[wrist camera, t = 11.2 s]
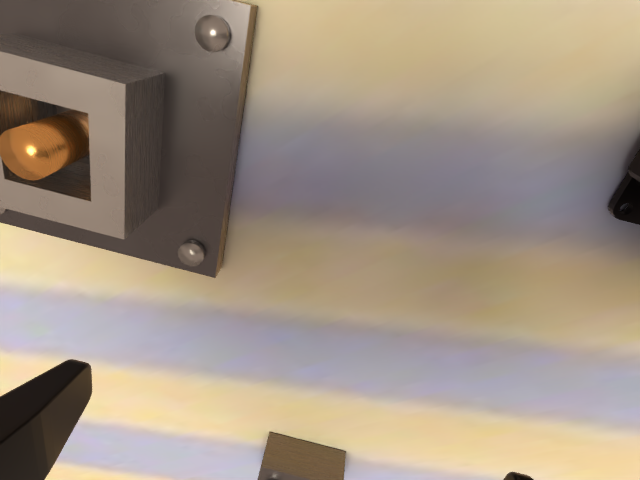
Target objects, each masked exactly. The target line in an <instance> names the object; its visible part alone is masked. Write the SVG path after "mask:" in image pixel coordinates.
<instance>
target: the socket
mask: <svg viewBox="0 0 640 480" xmlns="http://www.w3.org/2000/svg"><path fill="white" fill-rule="evenodd" d="M164 83H165V73H164V72H160V71H156V70H152V69H148V68H145V67H141V66H137V65H133V64H129V63H126V62H122V61H118V60H114V59H110V58H107V57H103V56H99V55H95V54H91V53H88V52H84V51H80V50H76V49H73V48H69V47H65V46H61V45H57V44H54V43H50V42H46V41H42V40H38V39H35V38H31V37H27V36H23V35H19V34H16V33H13V34H0V136H1V135H2V133H3V132H5V131H7V130H9V129H12V128H15V127H18V126H22V125H25V124H28V123H31V122H34V121H37V120H40V119H43V118H47V117H50V116H53V107H52V104H54V105H58V106H62V107H66V108H70V109H74V110H77V111H81V112H85V113H88V120H89V149H90V165H89V164H85V163H81V162H77V161H76V162H74V163H72V164H70V165H68V166H66V167H64V168H62V169H60V170H58V171H56V172H54V173H52V174H50V175H48V176H46V177H44V178H42V179H39V180H27V179H24V178H21V177H19V176H18V175H16V174H15V173H13V172H12V171H11V170H10V169H9V168H8V167H7V166H6V165H5V163H4V162H3V160H2V158H1V156H0V207H2V208H5V209H9V210H13V211H17V212H21V213H25V214H28V215H32V216H36V217H40V218H44V219H48V220H51V221H55V222H59V223H63V224H67V225H71V226H74V227H78V228H82V229H86V230H90V231H94V232H97V233H101V234H105V235H109V236H113V237H116V238H120V239H125V238H126V237H128V236H129V235H130V234H131V233H132V232H133V231H134V230H135V229H136V228H138V227H139V226H140V225H141V224H142V223H143V222H144V221H145V220H146V219H148V218H149V217H150V216H151V215H152V214H153V213H154V212H155V211H156V210H158V203H159V183H160V163H161V143H162V123H163V103H164Z"/></svg>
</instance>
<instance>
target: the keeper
mask: <svg viewBox="0 0 640 480" xmlns="http://www.w3.org/2000/svg"><path fill="white" fill-rule="evenodd" d="M257 7H258V6H256V5H252V4H248V3H244V2H241V1H237V0H0V34H13V33H16V34H19V35H23V36H27V37H31V38H35V39H38V40H42V41H46V42H50V43H54V44H57V45H61V46H65V47H69V48H73V49H76V50H80V51H84V52H88V53H91V54H95V55H99V56H103V57H107V58H110V59H114V60H118V61H122V62H126V63H129V64H133V65H137V66H141V67H145V68H148V69H152V70H156V71H160V72H164V73H165V83H164V103H163V123H162V143H161V163H160V183H159V203H158V210H156V211H155V212H154V213H153V214H152V215H151V216H150V217H149V218H148V219H146V220H145V221H144V222H143V223H142V224H141V225H140V226H139V227H138V228H136V229H135V230H134V231H133V232H132V233H131V234H130V235H129V236H128V237H126V238H125V239H120V238H116V237H113V236H109V235H105V234H101V233H97V232H94V231H90V230H86V229H82V228H78V227H74V226H71V225H67V224H63V223H59V222H55V221H51V220H48V219H44V218H40V217H36V216H32V215H28V214H25V213H21V212H17V211H13V210H9V209H5V208H2V207H0V222H1V223H5V224H9V225H13V226H16V227H20V228H24V229H28V230H32V231H36V232H40V233H44V234H47V235H51V236H55V237H59V238H63V239H67V240H71V241H75V242H78V243H82V244H86V245H90V246H94V247H98V248H102V249H106V250H109V251H113V252H117V253H121V254H125V255H129V256H133V257H137V258H140V259H144V260H148V261H152V262H156V263H160V264H164V265H168V266H171V267H175V268H179V269H183V270H187V271H191V272H195V273H199V274H203V275H206V276H210V277H214V278H216V276H217V274H218V273H219V271H220V269H221V268H222V262H223V255H224V247H225V240H226V233H227V225H228V218H229V211H230V204H231V196H232V189H233V182H234V174H235V167H236V160H237V152H238V145H239V138H240V131H241V123H242V116H243V109H244V101H245V94H246V87H247V79H248V72H249V65H250V58H251V50H252V43H253V36H254V28H255V21H256V14H257ZM52 107H53V116H50V117H47V118H43V119H40V120H37V121H34V122H31V123H28V124H25V125H22V126H18V127H15V128H12V129H9V130H7V131H5V132H3V133H2V135H1V136H0V156H1V158H2V160H3V162H4V163H5V165H6V166H7V167H8V168H9V169H10V170H11V171H12V172H13V173H15V174H16V175H18V176H19V177H21V178H24V179H27V180H39V179H42V178H44V177H46V176H48V175H50V174H52V173H54V172H56V171H58V170H60V169H62V168H64V167H66V166H68V165H70V164H72V163H74V162H76V161H77V162H81V163H85V164H89V165H90V149H89V120H88V113H85V112H81V111H77V110H74V109H70V108H66V107H62V106H58V105H54V104H52Z"/></svg>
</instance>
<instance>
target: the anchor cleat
mask: <svg viewBox="0 0 640 480" xmlns="http://www.w3.org/2000/svg"><path fill="white" fill-rule="evenodd" d="M345 453H346V451H342V450H338V449H334V448H330V447H326V446H322V445H318V444H314V443H311V442H307V441H303V440H299V439H295V438H291V437H287V436H283V435H279V434H275V433H272V432H270V433H269V437H268V441H267V445H266V449H265V453H264V456H263V460H262V464H261V468H260V472H259V476H258V480H344V467H345Z"/></svg>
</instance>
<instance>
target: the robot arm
mask: <svg viewBox="0 0 640 480" xmlns="http://www.w3.org/2000/svg"><path fill="white" fill-rule="evenodd" d="M628 170H629V172H628V173H627V175H626V177H625V178H624V180H623V181H622V183H621V185H620V186H619V188H618V190H617V191H616V193H615V194H614V196H613V198H612V199H611V201H610V203H609V206H608V208H609V211H610V213H611V214H612V215H613V216H614V217H616V218H617V219H619V220H623V221H627V222H631V223H635V224H639V225H640V149H639V151H638V153H637V154H636V156H635V158H634V159H633V161H632V162H631V164H630V166H629V168H628ZM626 203H629V204H628V207H627V208H626V209H624V210H622V211H619V210H620V207H621V206H622V205H623V204H626ZM91 394H92V374H91V366H90V365H89V364H88V363H86V362H82V361H78V360H73V359H71V360H67V361H65V362H63V363H61V364H59V365H58V366H56V367H54V368H52V369H50V370H48V371H46V372H45V373H43V374H41V375H39V376H37V377H35V378H34V379H32V380H30V381H28V382H26V383H24V384H23V385H21V386H19V387H17V388H15V389H13V390H11V391H10V392H8V393H6V394H4V395H2V396H0V480H45V478H46V476H47V475H48V473H49V472H50V470H51V468H52V467H53V465H54V463H55V461H56V460H57V458H58V456H59V454H60V452H61V451H62V449H63V447H64V445H65V443H66V442H67V440H68V438H69V436H70V434H71V433H72V431H73V429H74V427H75V425H76V424H77V422H78V420H79V418H80V416H81V415H82V413H83V411H84V409H85V407H86V406H87V404H88V402H89V400H90V397H91ZM503 480H533V479H532V478H531V477H530V476H527V475H524V474H520V473H516V472H510V473H508V474H507V475H506V477H505V478H504V479H503Z"/></svg>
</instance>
